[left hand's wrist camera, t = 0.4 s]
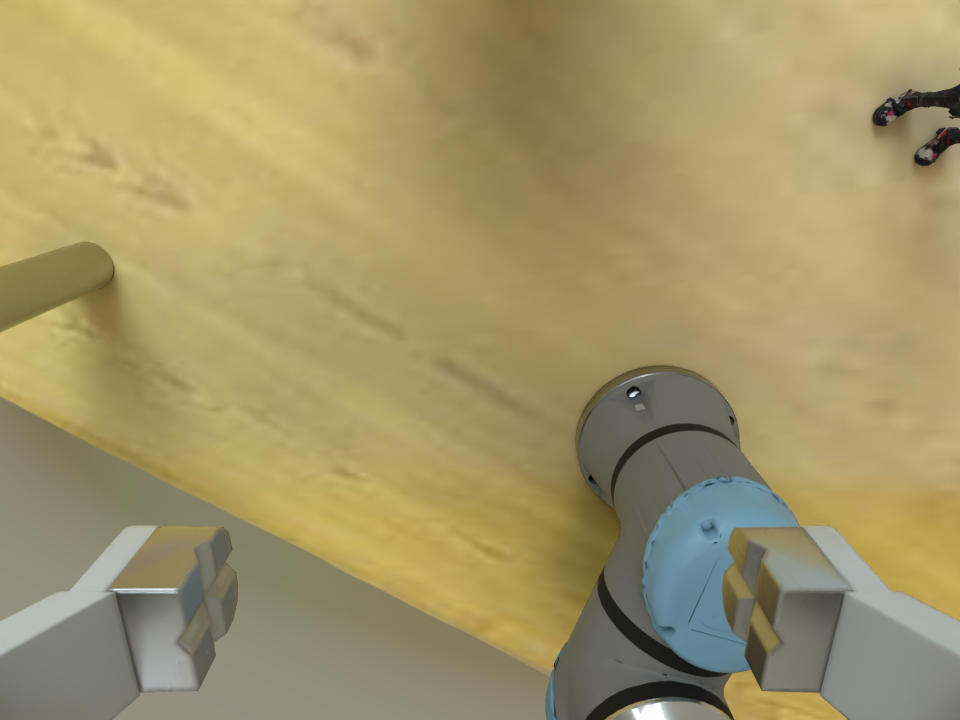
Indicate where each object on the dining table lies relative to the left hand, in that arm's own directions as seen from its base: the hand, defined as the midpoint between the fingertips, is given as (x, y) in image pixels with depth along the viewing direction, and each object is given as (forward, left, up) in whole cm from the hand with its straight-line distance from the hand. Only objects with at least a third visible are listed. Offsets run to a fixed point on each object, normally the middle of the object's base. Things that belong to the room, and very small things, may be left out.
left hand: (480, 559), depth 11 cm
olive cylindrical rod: (+5, -35, -48) cm, 59 cm away
